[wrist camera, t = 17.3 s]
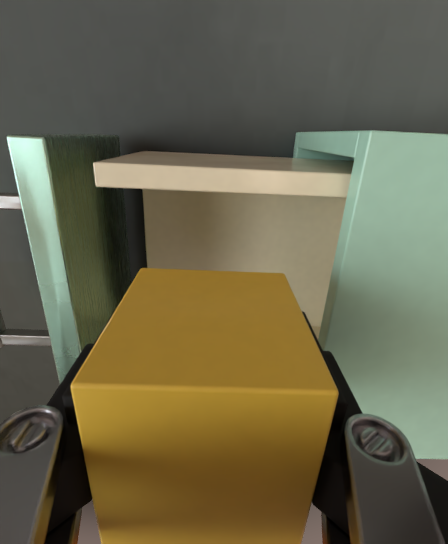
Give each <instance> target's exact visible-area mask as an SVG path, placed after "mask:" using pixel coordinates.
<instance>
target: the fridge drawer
mask: <svg viewBox="0 0 448 544" xmlns="http://www.w3.org/2000/svg"><path fill="white" fill-rule="evenodd" d="M6 139H7V144H8V148H9V153H10V158H11V162H12V167H13V171H14V176H15V181H16V185H17V190H18V193H0V209H11V210H22V213H23V217H24V222H25V226H26V231H27V236H28V240H29V245H30V249H31V254H32V259H33V263H34V268H35V272H36V277H37V282H38V286H39V291H40V295H41V300H42V305H43V309H44V314H45V318H46V323H47V328H48V330H28V329H6V327H5V324H4V320H3V317H2V313H1V310H0V348H2V347H3V346H5V345H35V346H52V351H53V355H54V360H55V364H56V369H57V374H58V378H59V383H60V384H61V382H62V381H63V379H64V378H65V376H66V375H67V373H68V372H69V370H70V368H71V367H72V365H73V364H74V362H75V361H76V359H77V358H78V356H79V354H80V353H81V351H82V350H83V348H84V347H85V346H86V345H87V344H89V343H92V344H94V343H95V341H96V340H97V338H98V336H99V335H100V333H101V331H102V330H103V328H104V326H105V325H106V323H107V322H108V320H109V318H110V317H111V315H112V313H113V312H114V310H115V308H116V307H117V306H118V305H119V303H120V302H121V300H122V299H123V297H124V295H125V294H126V292H127V290H128V289H129V287H130V285H131V275H130V263H129V251H128V239H127V227H126V215H125V203H124V191H123V188H131V189H142V191H143V208H144V225H145V242H146V258H147V268H157V269H183V270H210V271H237V272H264V273H283V274H285V276H286V278H287V280H288V283H289V285H290V287H291V289H292V291H293V293H294V296H295V298H296V300H297V302H298V304H299V307H300V309H301V311H303V312H305V314H306V316H307V318H308V320H309V322H310V324H311V327H312V329H313V331H314V333H315V335H316V337H317V339H318V338H319V333H320V328H321V323H322V318H323V313H324V308H325V303H326V298H327V293H328V288H329V283H330V278H331V273H332V268H333V263H334V258H335V253H336V248H337V243H338V238H339V233H340V228H341V223H342V218H343V213H344V208H345V203H346V198H347V193H348V188H349V183H350V178H351V173H352V168H353V163H354V161H347V160H326V159H305V158H284V157H263V156H241V155H220V154H199V153H178V152H156V151H142V152H137V153H133V154H128V155H124V156H121V155H120V143H119V136H118V135H101V134H56V135H7V136H6Z"/></svg>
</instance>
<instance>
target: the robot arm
mask: <svg viewBox="0 0 448 544" xmlns="http://www.w3.org/2000/svg"><path fill="white" fill-rule="evenodd" d="M117 307H118V306H117ZM117 307H116V308H117ZM116 308H115V310H116ZM115 310H114V312H115ZM114 312H113V313H114ZM113 313H112V315H113ZM302 313H303V315H304V317H305V320H306V322H307V324H308V326H309V328H310V330H311V333H312V335H313V337H314V339H315V341H316V344H317V346H318V348H319V350H320V352H321V354H322V357H323V359H324V361H325V363H326V365H327V367H328V370H329V372H330V374H331V376H332V378H333V380H334V383H335V385H336V387H337V389H338V392H339V395H338V399H337V403H336V407H335V411H334V415H333V419H332V423H331V427H330V431H329V435H328V439H327V443H326V447H325V451H324V455H323V459H322V463H321V467H320V471H319V475H318V479H317V483H316V487H315V491H314V494H313V498H312V503H313V505H315V506H316V507H317V508H318V509H319V510H320V511H321V512H322V515H321V516H322V538H323V544H448V481H447V480H445V479H444V478H442V477H441V476H439V475H437V474H435V473H434V472H433V471H431V470H429V469H428V468H426V467H425V466H423V465H421V464H420V463H418V462H417V461H416V458H415V455H414V453H413V450H412V447H411V445H410V443H409V441H408V439H407V437H406V436H405V435H404V434H403V433H402V432H401V430H400V429H399V428H397V427H396V426H395V425H393V424H392V423H391V422H389V421H387V420H385V419H383V418H381V417H379V416H375V415H372V414H363V413H362V411H361V409H360V407H359V405H358V403H357V401H356V399H355V397H354V395H353V393H352V391H351V389H350V387H349V385H348V383H347V381H346V379H345V377H344V376H343V374H342V372H341V370H340V368H339V366H338V364H337V362H336V360H335V358H334V356H333V354H332V353H331V352H330V351H323V350H322V348H321V346H320V344H319V341H318V339H317V337H316V335H315V333H314V331H313V329H312V327H311V324H310V322H309V320H308V318H307V316H306V314H305V312H303V311H302ZM112 315H111V317H112ZM111 317H110V318H111ZM110 318H109V320H110ZM109 320H108V322H109ZM108 322H107V323H108ZM107 323H106V325H107ZM106 325H105V326H104V328H105V327H106ZM104 328H103V330H104ZM103 330H102V331H101V333H102V332H103ZM101 333H100V335H101ZM100 335H99V336H98V338H99V337H100ZM98 338H97V340H98ZM97 340H96V341H95V343H96V342H97ZM95 343H94V344H92V343H89V344H87V345H86V346H85V347H84V348H83V350H82V351H81V353H80V354H79V356H78V358H77V359H76V361H75V362H74V364H73V365H72V367H71V368H70V370H69V372H68V373H67V375H66V376H65V378H64V379H63V381H62V382H61V384H60V385H59V387H58V389H57V390H56V392H55V393H54V395H53V396H52V398H51V399H50V401H49V403H48V404H47V405H40V406H33V407H29V408H25V409H23V410H21V411H19V412H16V413H14V414H13V415H11V416H10V417H8V418H7V419H5V420H4V421H3V422H2V423H1V424H0V544H77V541H78V535H79V527H80V520H81V513H82V507H83V506H84V505H86V504H87V503H88V502H90V501H91V500H92V494H91V489H90V484H89V479H88V474H87V468H86V463H85V458H84V453H83V448H82V443H81V438H80V433H79V428H78V423H77V418H76V413H75V408H74V403H73V398H72V392H71V383H72V381H73V380H74V378H75V376H76V375H77V373H78V371H79V370H80V368H81V366H82V365H83V363H84V362H85V360H86V358H87V357H88V355H89V353H90V352H91V350H92V348H93V347H94V345H95Z"/></svg>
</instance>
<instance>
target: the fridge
mask: <svg viewBox="0 0 448 544" xmlns="http://www.w3.org/2000/svg"><path fill="white" fill-rule="evenodd" d="M293 158H305V159H326V160H347V161H354V163H353V168H352V173H351V178H350V183H349V188H348V193H347V198H346V203H345V208H344V213H343V218H342V223H341V228H340V233H339V238H338V243H337V248H336V253H335V258H334V263H333V268H332V273H331V278H330V283H329V288H328V293H327V298H326V303H325V308H324V313H323V318H322V323H321V328H320V333H319V338H318V341H319V344H320V346H321V348H322V350H323V351H330V352H331V353H332V354H333V356H334V358H335V360H336V362H337V364H338V366H339V368H340V370H341V372H342V374H343V376H344V377H345V379H346V381H347V383H348V385H349V387H350V389H351V391H352V393H353V395H354V397H355V399H356V401H357V403H358V405H359V407H360V409H361V411H362V413H363V414H372V415H375V416H379V417H381V418H383V419H385V420H387V421H389V422H391V423H392V424H393V425H395V426H396V427H397V428H399V429H400V430H401V432H402V433H403V434H404V435H405V436H406V437H407V439H408V441H409V443H410V445H411V447H412V450H413V453H414V455H415V458H416V459H448V134H438V133H418V132H397V131H377V130H362V131H320V132H297V133H296V138H295V146H294V153H293Z"/></svg>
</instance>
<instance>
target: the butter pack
mask: <svg viewBox="0 0 448 544" xmlns="http://www.w3.org/2000/svg"><path fill="white" fill-rule="evenodd" d="M71 392H72V398H73V403H74V408H75V413H76V418H77V423H78V428H79V433H80V438H81V443H82V448H83V453H84V458H85V463H86V468H87V474H88V479H89V484H90V489H91V494H92V499H93V504H94V509H95V514H96V519H97V523H98V529H99V534H100V539H101V544H301V542H302V538H303V534H304V530H305V526H306V522H307V518H308V514H309V510H310V506H311V502H312V498H313V494H314V491H315V487H316V483H317V479H318V475H319V471H320V467H321V463H322V459H323V455H324V451H325V447H326V443H327V439H328V435H329V431H330V427H331V423H332V419H333V415H334V411H335V407H336V403H337V399H338V395H339V392H338V389H337V387H336V385H335V383H334V380H333V378H332V376H331V374H330V372H329V370H328V367H327V365H326V363H325V361H324V359H323V357H322V354H321V352H320V350H319V348H318V346H317V344H316V341H315V339H314V337H313V335H312V333H311V330H310V328H309V326H308V324H307V322H306V320H305V317H304V315H303V313H302V311H301V309H300V307H299V304H298V302H297V300H296V298H295V296H294V293H293V291H292V289H291V287H290V285H289V283H288V280H287V278H286V276H285V274H283V273H264V272H237V271H210V270H183V269H157V268H141V269H140V270H139V272H138V274H137V275H136V277H135V279H134V280H133V282H132V284H131V285H130V287H129V289H128V290H127V292H126V294H125V295H124V297H123V299H122V300H121V302H120V303H119V305H118V307H117V308H116V310H115V312H114V313H113V315H112V317H111V318H110V320H109V322H108V323H107V325H106V327H105V328H104V330H103V332H102V333H101V335H100V337H99V338H98V340H97V342H96V343H95V345H94V347H93V348H92V350H91V352H90V353H89V355H88V357H87V358H86V360H85V362H84V363H83V365H82V366H81V368H80V370H79V371H78V373H77V375H76V376H75V378H74V380H73V381H72V383H71Z"/></svg>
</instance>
